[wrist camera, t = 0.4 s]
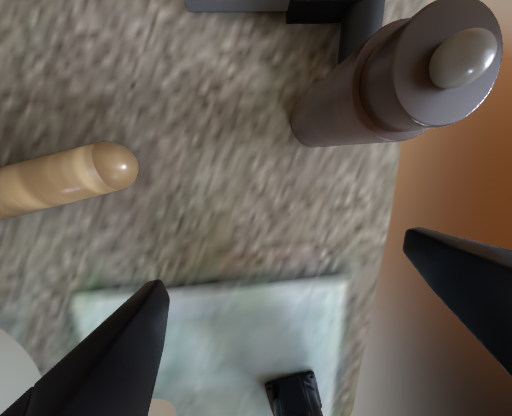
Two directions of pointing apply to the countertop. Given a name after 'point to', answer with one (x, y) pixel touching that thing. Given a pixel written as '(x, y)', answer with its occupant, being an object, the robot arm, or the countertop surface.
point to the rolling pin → (65, 178)
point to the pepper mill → (406, 78)
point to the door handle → (312, 15)
